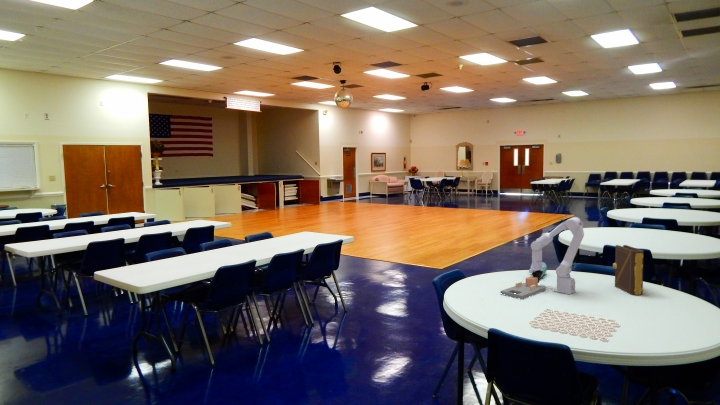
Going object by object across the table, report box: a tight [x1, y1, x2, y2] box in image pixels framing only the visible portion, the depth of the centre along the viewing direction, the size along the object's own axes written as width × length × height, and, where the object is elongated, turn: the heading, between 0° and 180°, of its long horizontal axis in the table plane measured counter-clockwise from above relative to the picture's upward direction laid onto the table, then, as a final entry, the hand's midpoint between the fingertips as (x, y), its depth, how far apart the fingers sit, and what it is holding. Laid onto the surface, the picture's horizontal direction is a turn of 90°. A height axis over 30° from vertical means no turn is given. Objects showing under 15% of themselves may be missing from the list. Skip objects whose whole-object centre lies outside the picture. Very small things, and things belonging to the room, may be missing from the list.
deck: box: [500, 281, 547, 300], centre depth 272 cm, size 14×25×4 cm, turn 129°
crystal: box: [530, 261, 548, 279], centre depth 306 cm, size 10×34×10 cm, turn 153°
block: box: [525, 276, 539, 287], centre depth 278 cm, size 5×5×5 cm
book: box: [612, 244, 645, 296], centre depth 270 cm, size 22×8×25 cm, turn 179°
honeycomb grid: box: [528, 308, 621, 343], centre depth 219 cm, size 30×35×1 cm
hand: (536, 282), depth 281 cm, fingers closed
